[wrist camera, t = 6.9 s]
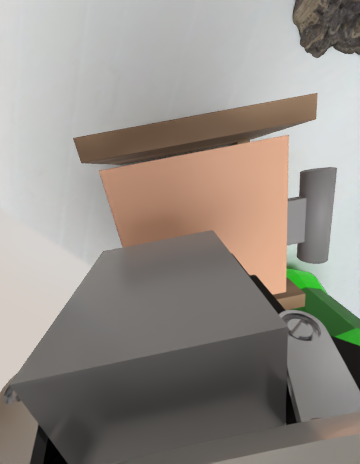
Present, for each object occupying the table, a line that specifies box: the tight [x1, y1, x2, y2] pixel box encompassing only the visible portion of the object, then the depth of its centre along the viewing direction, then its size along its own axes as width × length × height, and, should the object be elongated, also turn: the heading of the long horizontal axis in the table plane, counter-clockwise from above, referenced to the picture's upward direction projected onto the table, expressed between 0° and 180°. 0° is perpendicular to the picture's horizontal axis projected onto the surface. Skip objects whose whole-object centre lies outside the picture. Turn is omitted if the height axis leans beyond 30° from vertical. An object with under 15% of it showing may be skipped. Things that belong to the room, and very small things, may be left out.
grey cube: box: [10, 230, 288, 464], centre depth 7 cm, size 6×6×6 cm
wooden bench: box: [73, 93, 317, 310], centre depth 22 cm, size 19×17×13 cm
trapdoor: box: [99, 135, 337, 295], centre depth 16 cm, size 14×18×2 cm
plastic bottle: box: [286, 269, 360, 346], centre depth 22 cm, size 10×10×25 cm
